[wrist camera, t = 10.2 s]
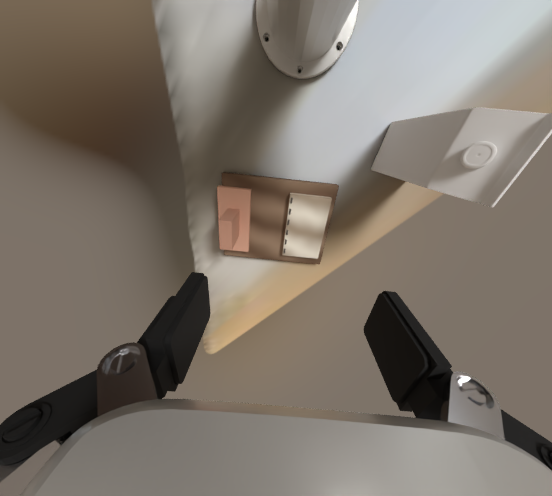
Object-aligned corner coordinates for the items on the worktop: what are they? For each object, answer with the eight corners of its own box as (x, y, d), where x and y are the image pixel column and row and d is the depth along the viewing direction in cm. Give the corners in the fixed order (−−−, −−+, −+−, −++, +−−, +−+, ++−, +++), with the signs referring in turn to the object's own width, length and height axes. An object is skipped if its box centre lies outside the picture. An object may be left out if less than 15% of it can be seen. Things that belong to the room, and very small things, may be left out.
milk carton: (432, 134, 31) (608, 125, 14) (407, 180, 34) (526, 216, 18) (390, 121, 30) (523, 97, 14) (369, 169, 34) (455, 197, 17)
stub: (219, 185, 34) (204, 195, 28) (251, 188, 34) (244, 199, 28) (221, 246, 40) (209, 266, 33) (249, 249, 40) (242, 269, 34)
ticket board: (224, 172, 35) (219, 174, 32) (336, 184, 35) (340, 187, 32) (226, 251, 42) (222, 258, 40) (318, 260, 43) (320, 267, 40)
